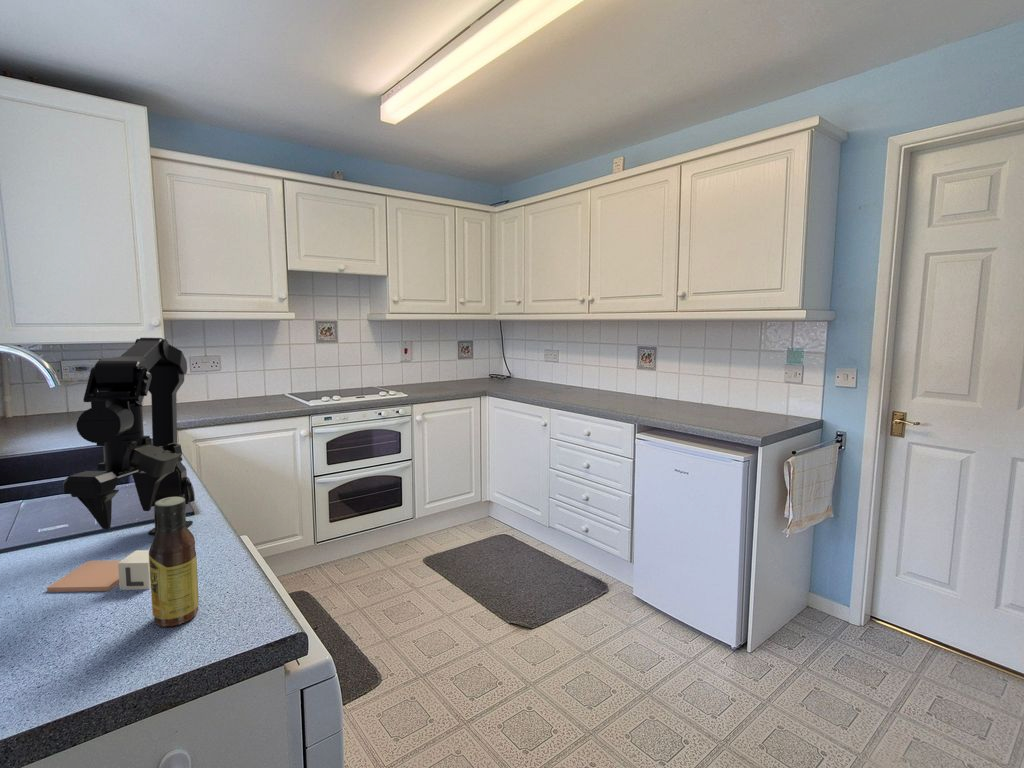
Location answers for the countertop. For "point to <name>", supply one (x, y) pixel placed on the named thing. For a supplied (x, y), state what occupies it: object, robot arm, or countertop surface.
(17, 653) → the countertop surface
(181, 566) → the sauce bottle
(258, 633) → the countertop surface
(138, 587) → the cream letter cube
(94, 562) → the terracotta tile
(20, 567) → the countertop surface
